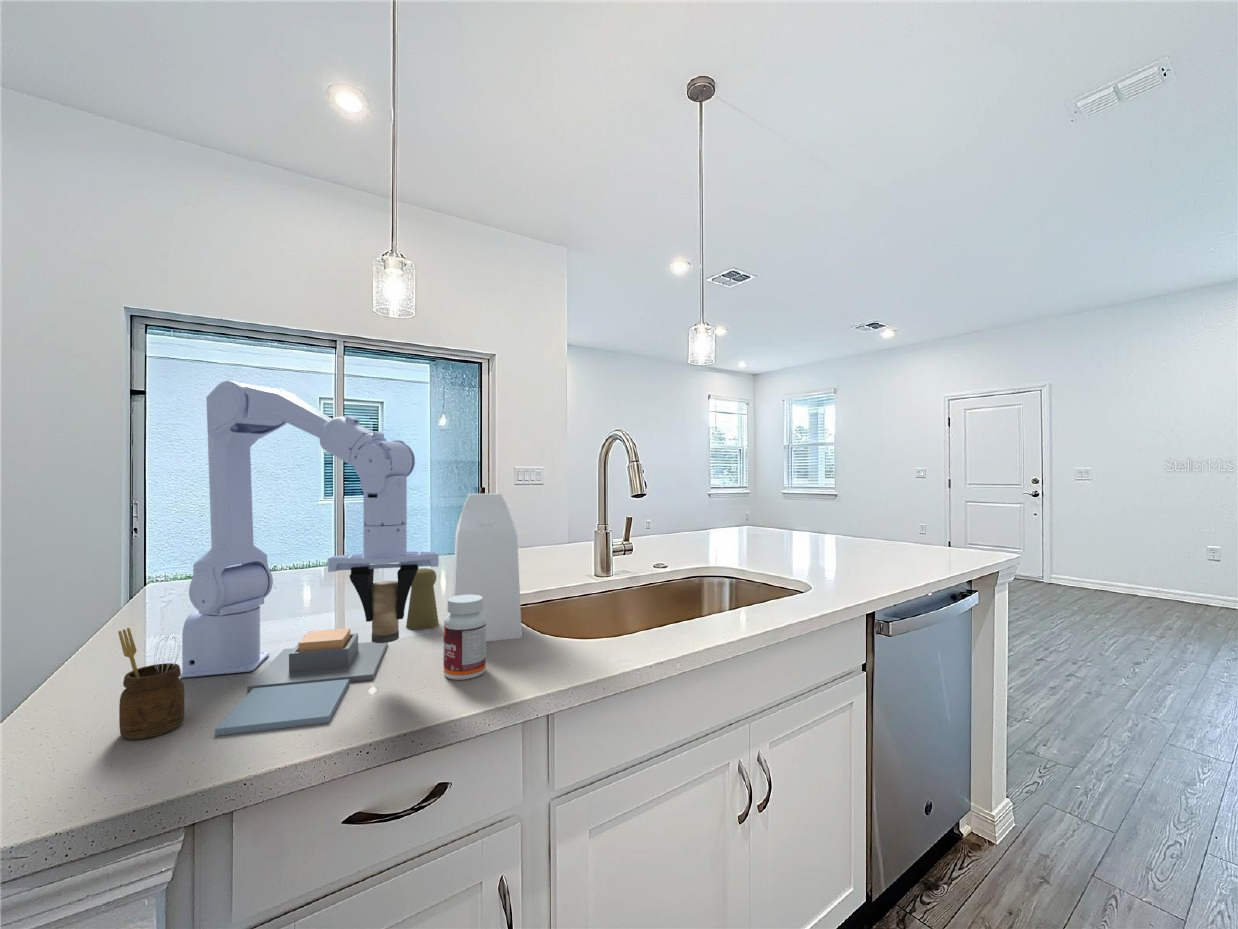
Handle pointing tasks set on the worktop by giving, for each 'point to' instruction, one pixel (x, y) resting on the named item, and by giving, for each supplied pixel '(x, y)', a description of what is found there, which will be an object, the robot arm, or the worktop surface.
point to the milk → (489, 563)
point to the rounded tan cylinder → (385, 612)
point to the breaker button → (324, 640)
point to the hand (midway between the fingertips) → (385, 618)
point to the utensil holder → (150, 696)
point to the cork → (422, 601)
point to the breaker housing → (322, 665)
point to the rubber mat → (284, 707)
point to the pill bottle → (464, 638)
